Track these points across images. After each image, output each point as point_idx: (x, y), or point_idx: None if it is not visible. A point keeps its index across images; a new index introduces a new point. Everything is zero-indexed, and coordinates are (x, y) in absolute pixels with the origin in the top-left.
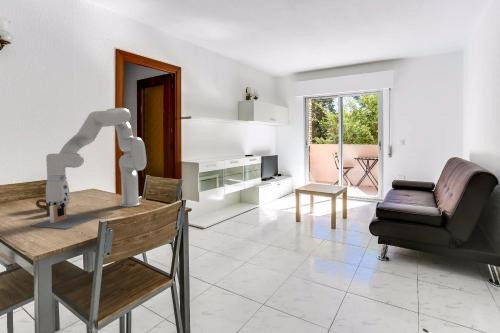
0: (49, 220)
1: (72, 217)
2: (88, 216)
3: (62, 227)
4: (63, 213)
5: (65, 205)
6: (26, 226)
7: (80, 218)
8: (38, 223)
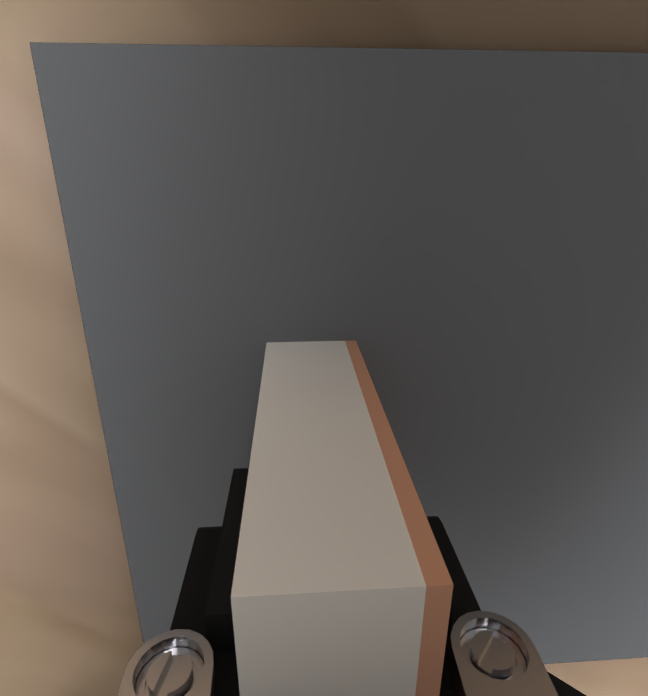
0: (157, 483)
1: (388, 230)
2: None
3: (611, 643)
4: (435, 521)
5: (428, 538)
6: (111, 688)
7: (594, 256)
8: (160, 617)
